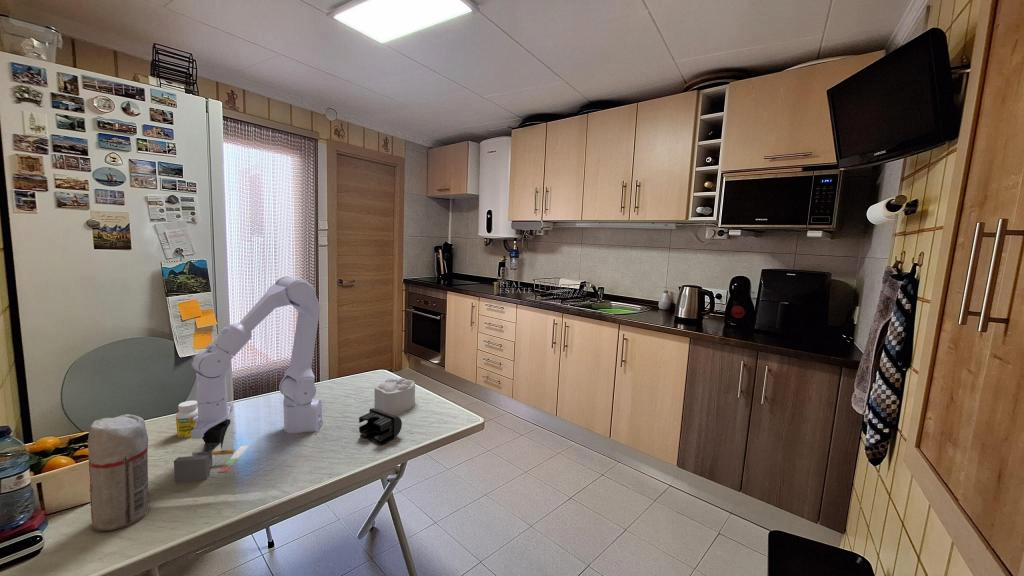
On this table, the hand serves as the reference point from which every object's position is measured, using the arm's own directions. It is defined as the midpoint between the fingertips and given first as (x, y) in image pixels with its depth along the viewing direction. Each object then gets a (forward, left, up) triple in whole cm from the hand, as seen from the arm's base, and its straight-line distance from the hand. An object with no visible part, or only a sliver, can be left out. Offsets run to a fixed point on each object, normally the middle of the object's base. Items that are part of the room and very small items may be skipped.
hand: (215, 451), depth 96 cm
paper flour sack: (+7, +19, -2) cm, 21 cm away
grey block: (-2, +3, -1) cm, 4 cm away
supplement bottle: (+12, -13, -2) cm, 18 cm away
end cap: (-38, -7, -2) cm, 39 cm away
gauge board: (0, +2, -2) cm, 3 cm away
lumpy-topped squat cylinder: (-41, -27, -2) cm, 49 cm away
